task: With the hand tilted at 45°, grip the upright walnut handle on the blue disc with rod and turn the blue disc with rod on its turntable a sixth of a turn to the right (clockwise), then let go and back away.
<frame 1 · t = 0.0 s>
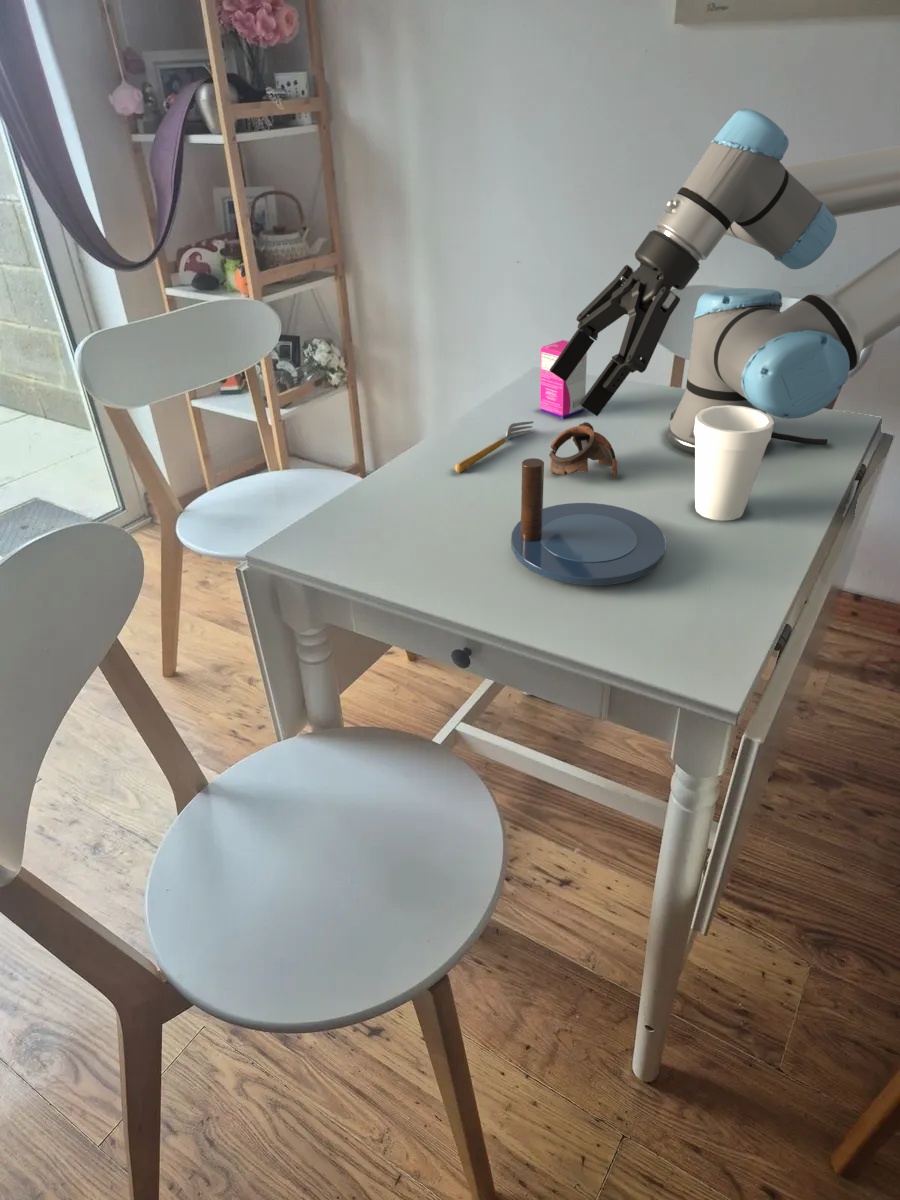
hand: (571, 392, 107), 15 cm above the table, tool tilted 35°, fingers open, 13 cm apart
broken brown clay pot: (583, 473, 122), on the table
fork: (494, 452, 130), on the table
blue disc with rod: (590, 505, 99), point 7 cm above the table, hinge at 0.0°
foam cup: (719, 511, 111), on the table
supplement box: (561, 412, 143), on the table
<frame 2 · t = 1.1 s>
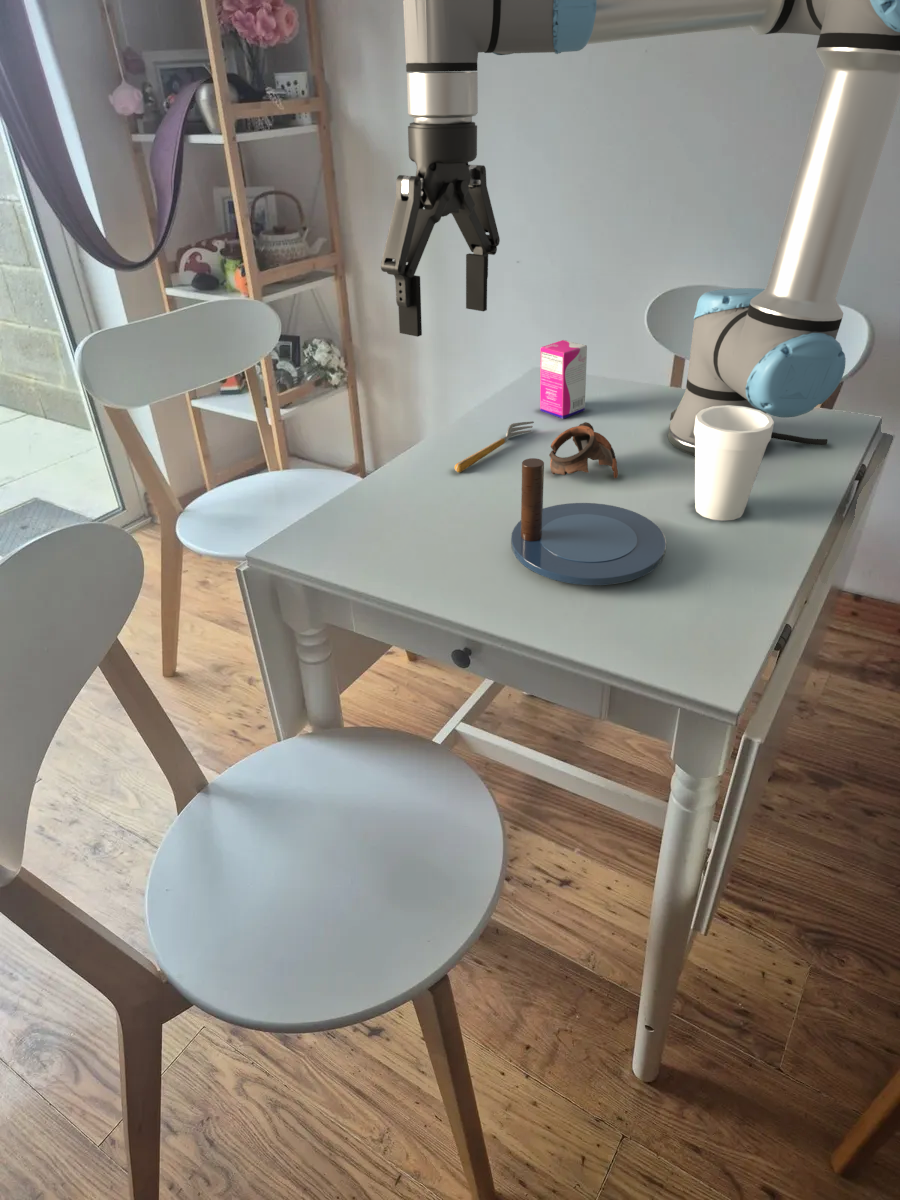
hand: (445, 321, 99), 26 cm above the table, tool pointing down, fingers open, 13 cm apart
nothing on the table moved.
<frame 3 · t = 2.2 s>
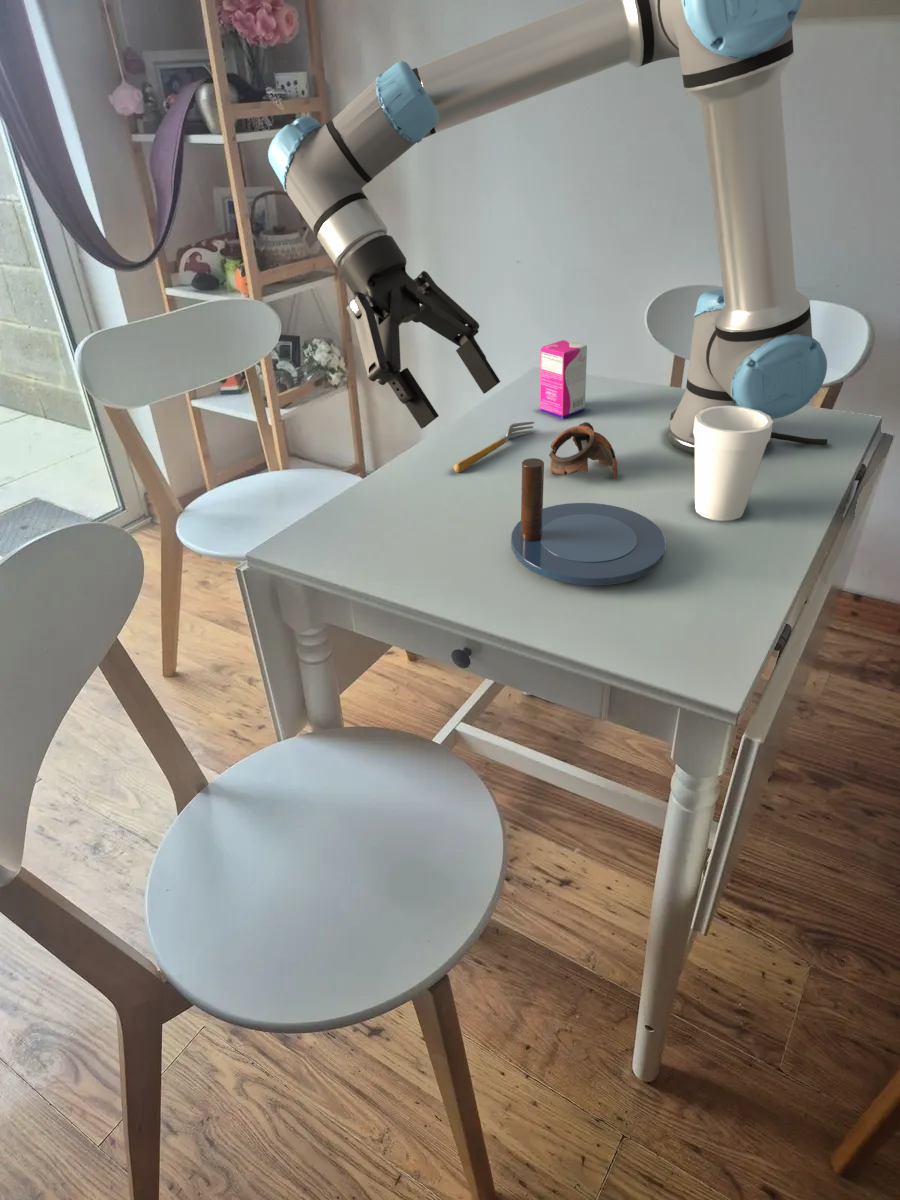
hand: (462, 404, 99), 17 cm above the table, tool tilted 40°, fingers open, 13 cm apart
foam cup: (719, 511, 111), on the table, touching arm
everything else where it was.
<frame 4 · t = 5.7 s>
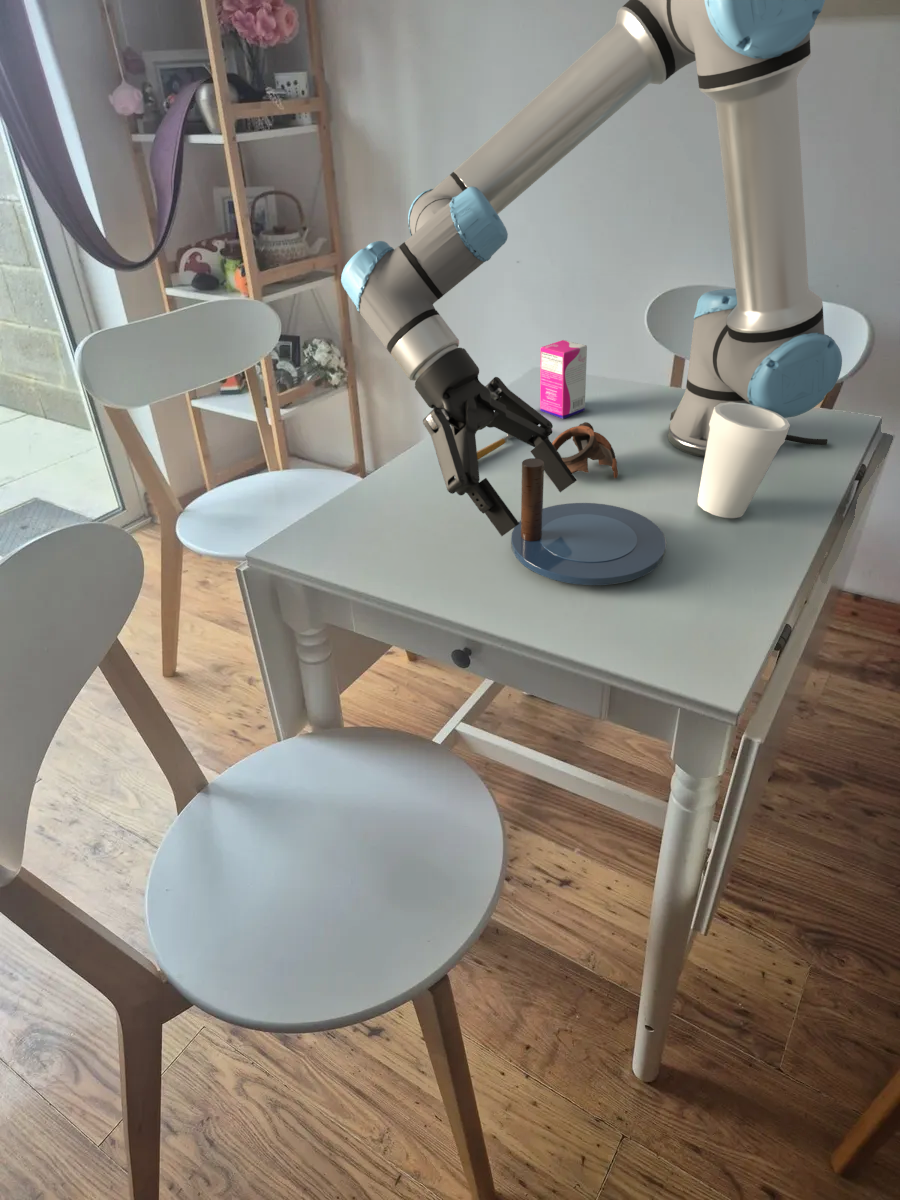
hand: (541, 507, 99), 7 cm above the table, tool tilted 45°, fingers open, 13 cm apart
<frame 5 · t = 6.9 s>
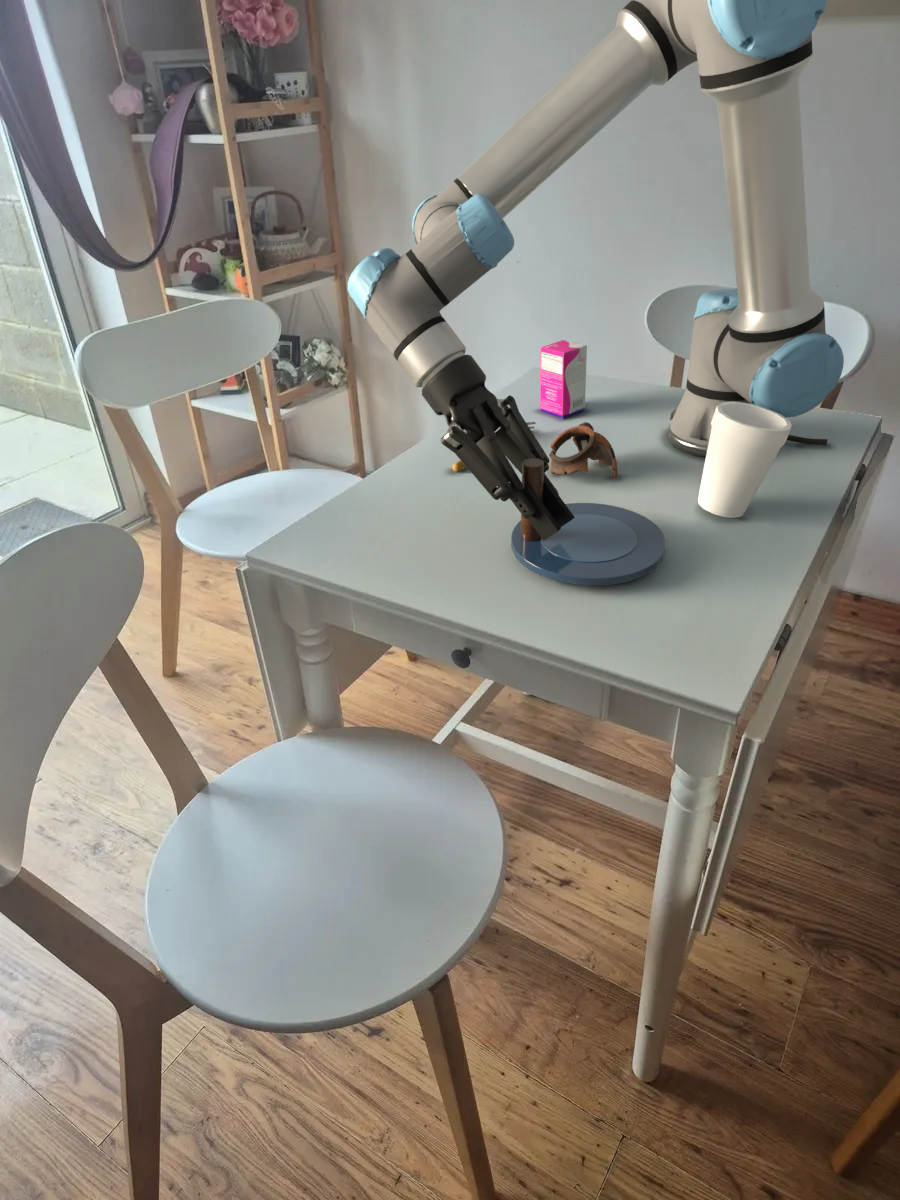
hand: (559, 528, 99), 5 cm above the table, tool tilted 45°, fingers closed on blue disc with rod, 3 cm apart
blue disc with rod: (590, 505, 99), point 7 cm above the table, hinge at 0.0°, touching gripper
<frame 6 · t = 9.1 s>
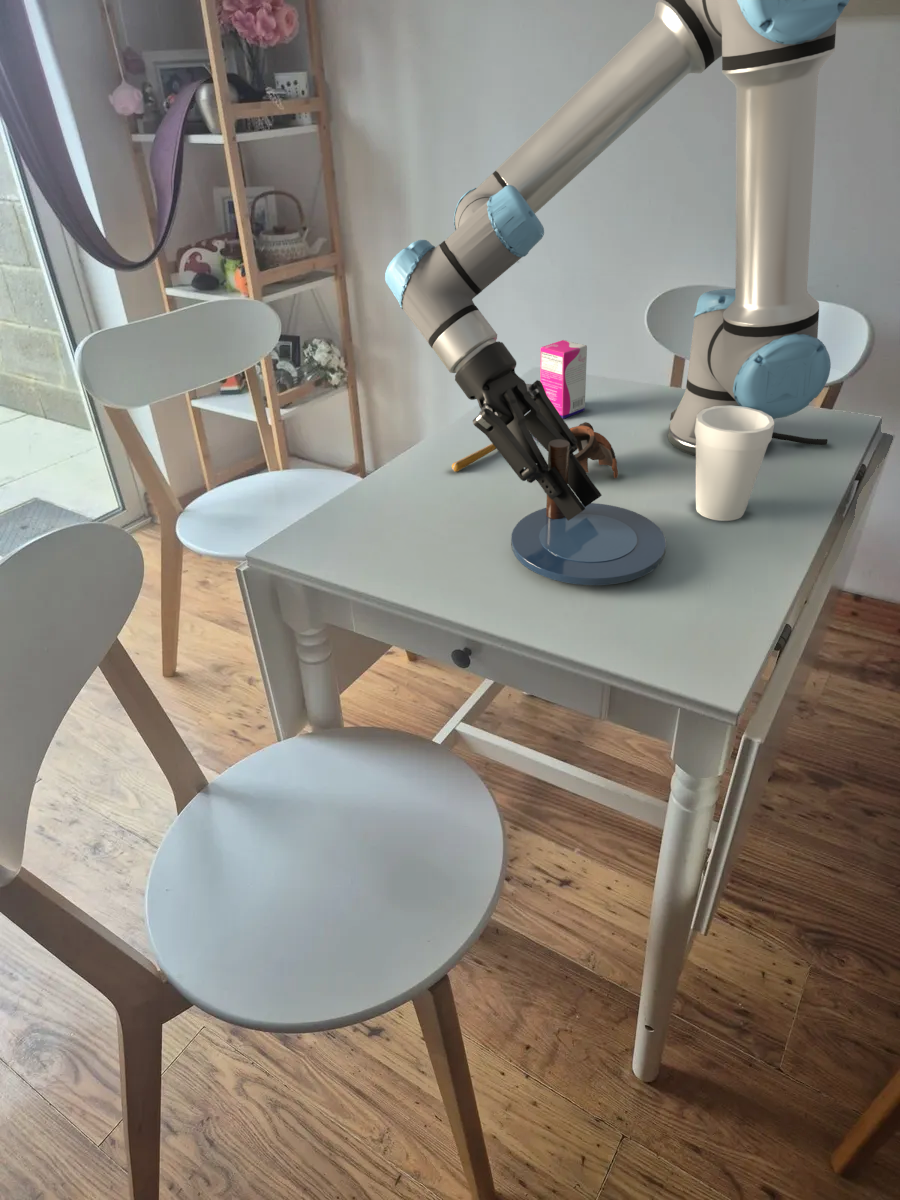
hand: (584, 507, 103), 4 cm above the table, tool tilted 45°, fingers open, 4 cm apart
blue disc with rod: (590, 505, 99), point 7 cm above the table, hinge at -56.2°
foam cup: (719, 511, 111), on the table
everything else where it was.
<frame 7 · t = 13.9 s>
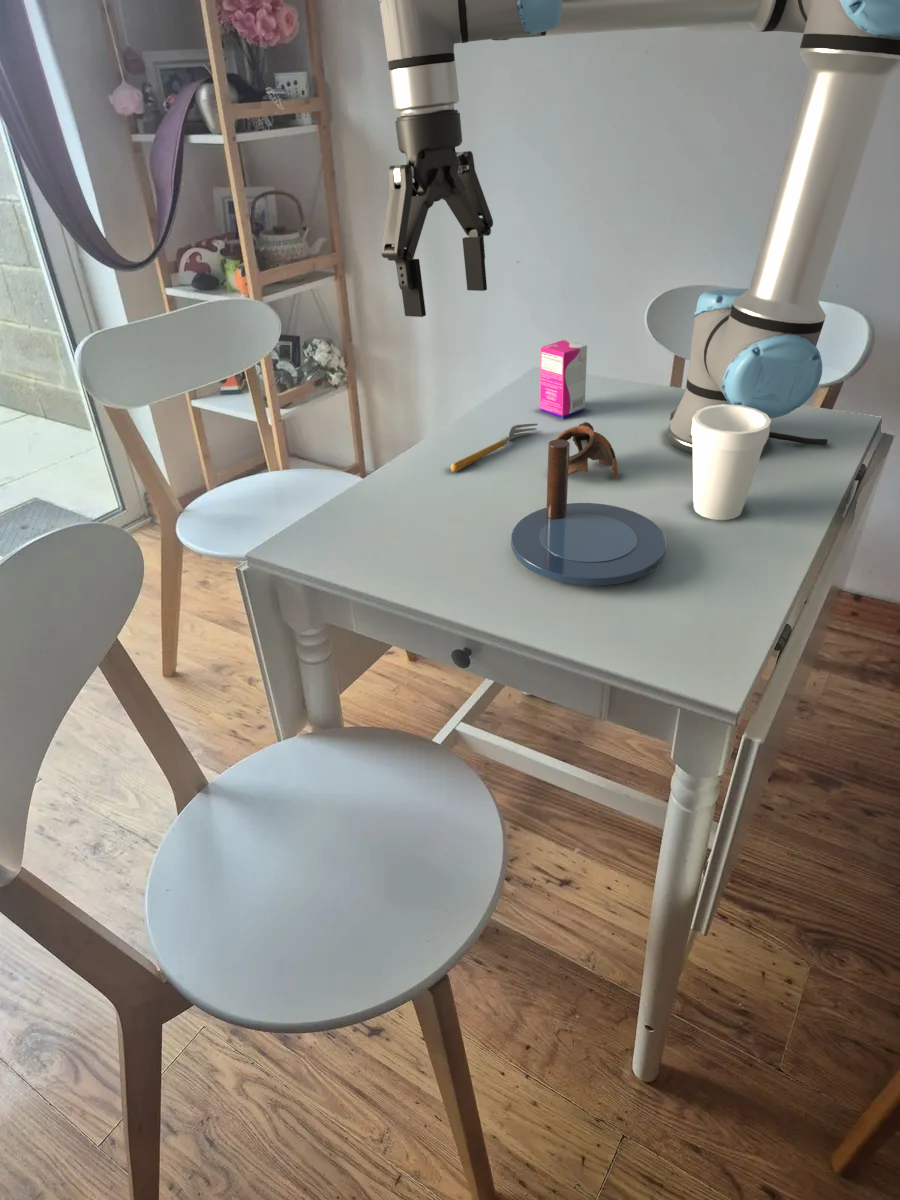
hand: (447, 302, 105), 26 cm above the table, tool pointing down, fingers open, 13 cm apart
foam cup: (717, 509, 111), on the table, touching arm
everything else where it was.
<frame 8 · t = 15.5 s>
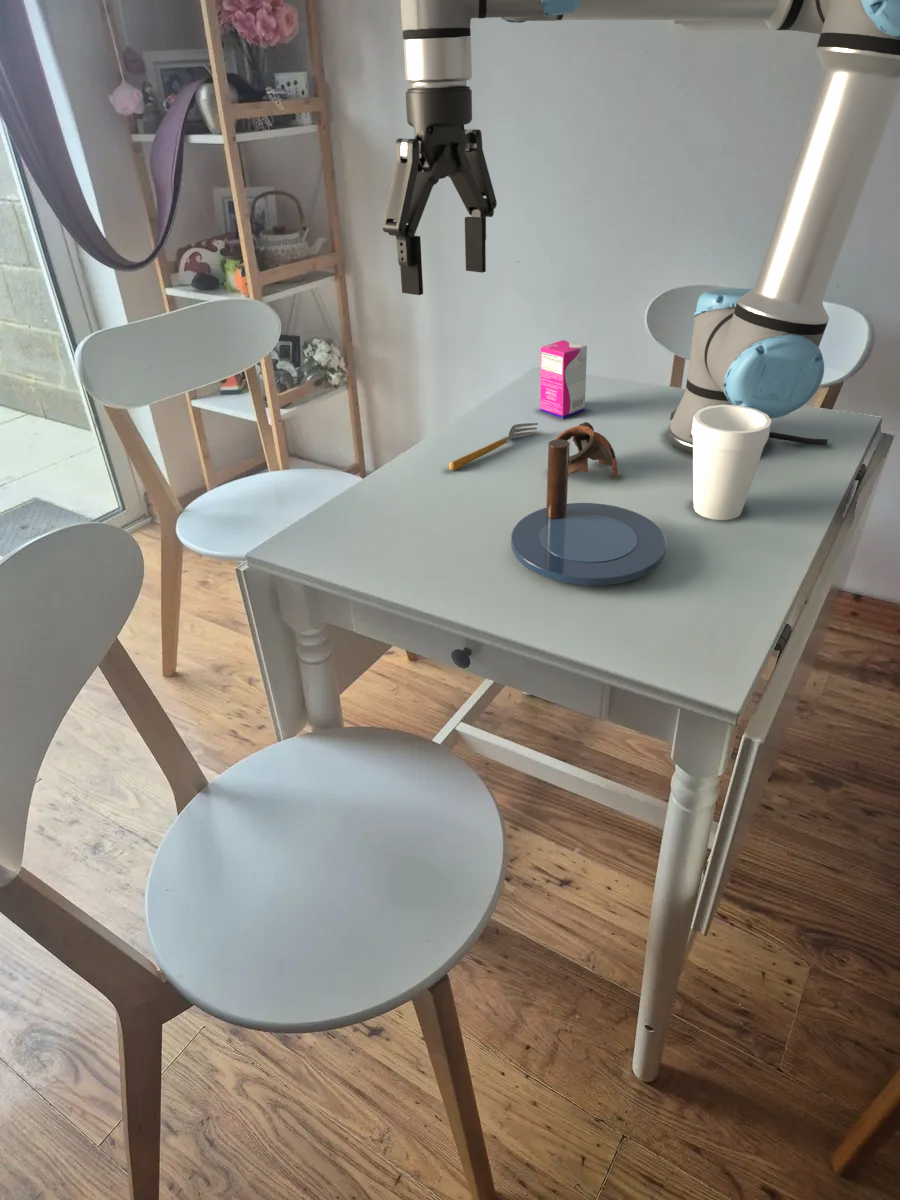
hand: (445, 282, 104), 29 cm above the table, tool pointing down, fingers open, 13 cm apart
nothing on the table moved.
at the end: blue disc with rod at -56° (first picture: +0°); the gripper is holding nothing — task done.
